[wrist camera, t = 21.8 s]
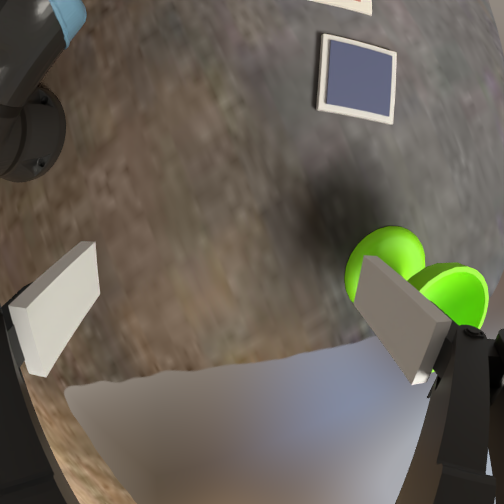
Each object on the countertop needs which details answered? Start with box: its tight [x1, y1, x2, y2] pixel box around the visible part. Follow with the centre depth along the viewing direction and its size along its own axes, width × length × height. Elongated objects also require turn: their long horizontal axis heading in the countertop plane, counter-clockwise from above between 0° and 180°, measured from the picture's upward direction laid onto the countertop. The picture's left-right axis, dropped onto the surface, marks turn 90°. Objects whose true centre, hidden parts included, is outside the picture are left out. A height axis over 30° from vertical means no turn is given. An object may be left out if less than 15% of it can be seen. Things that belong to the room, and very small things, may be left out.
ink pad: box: [316, 34, 397, 124], centre depth 40 cm, size 12×12×2 cm
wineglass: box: [344, 226, 489, 372], centre depth 43 cm, size 16×16×18 cm
